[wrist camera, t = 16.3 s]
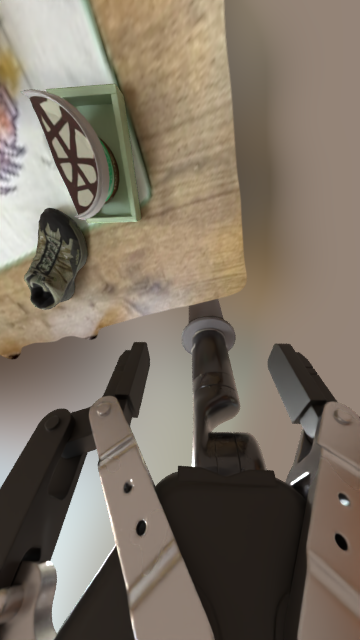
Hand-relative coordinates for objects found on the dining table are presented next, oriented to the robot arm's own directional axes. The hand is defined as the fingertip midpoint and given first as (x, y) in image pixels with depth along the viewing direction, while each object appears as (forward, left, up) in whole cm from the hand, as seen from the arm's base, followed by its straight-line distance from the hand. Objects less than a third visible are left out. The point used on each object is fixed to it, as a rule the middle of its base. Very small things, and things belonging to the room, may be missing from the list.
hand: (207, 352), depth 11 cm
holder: (+12, +15, -30) cm, 36 cm away
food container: (+12, +15, -30) cm, 35 cm away
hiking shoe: (-3, +29, -30) cm, 42 cm away
